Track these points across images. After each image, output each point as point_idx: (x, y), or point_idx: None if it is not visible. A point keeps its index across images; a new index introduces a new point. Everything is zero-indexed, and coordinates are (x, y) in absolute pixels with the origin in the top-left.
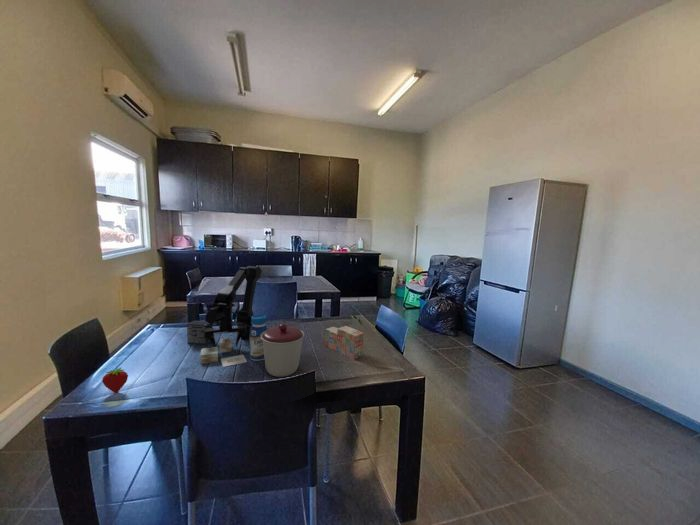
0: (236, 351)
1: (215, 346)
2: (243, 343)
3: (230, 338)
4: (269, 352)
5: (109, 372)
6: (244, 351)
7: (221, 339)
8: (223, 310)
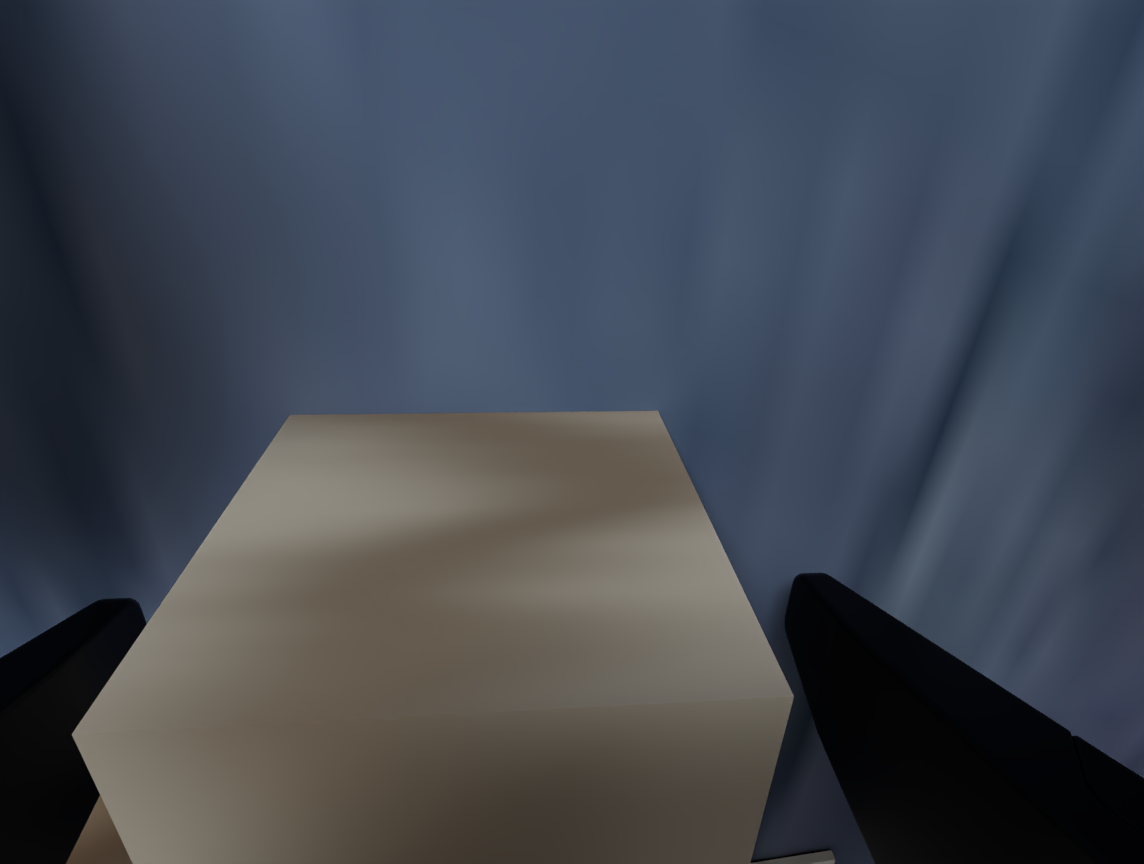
0: None
1: (74, 808)
2: (1128, 204)
3: (728, 755)
4: None
5: None
6: None
7: (173, 793)
8: None
